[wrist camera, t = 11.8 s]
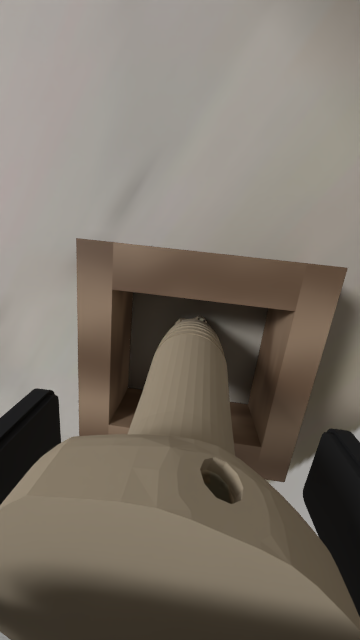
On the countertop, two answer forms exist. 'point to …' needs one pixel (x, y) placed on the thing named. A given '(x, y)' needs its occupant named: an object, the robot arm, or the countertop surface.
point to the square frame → (218, 286)
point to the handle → (165, 527)
